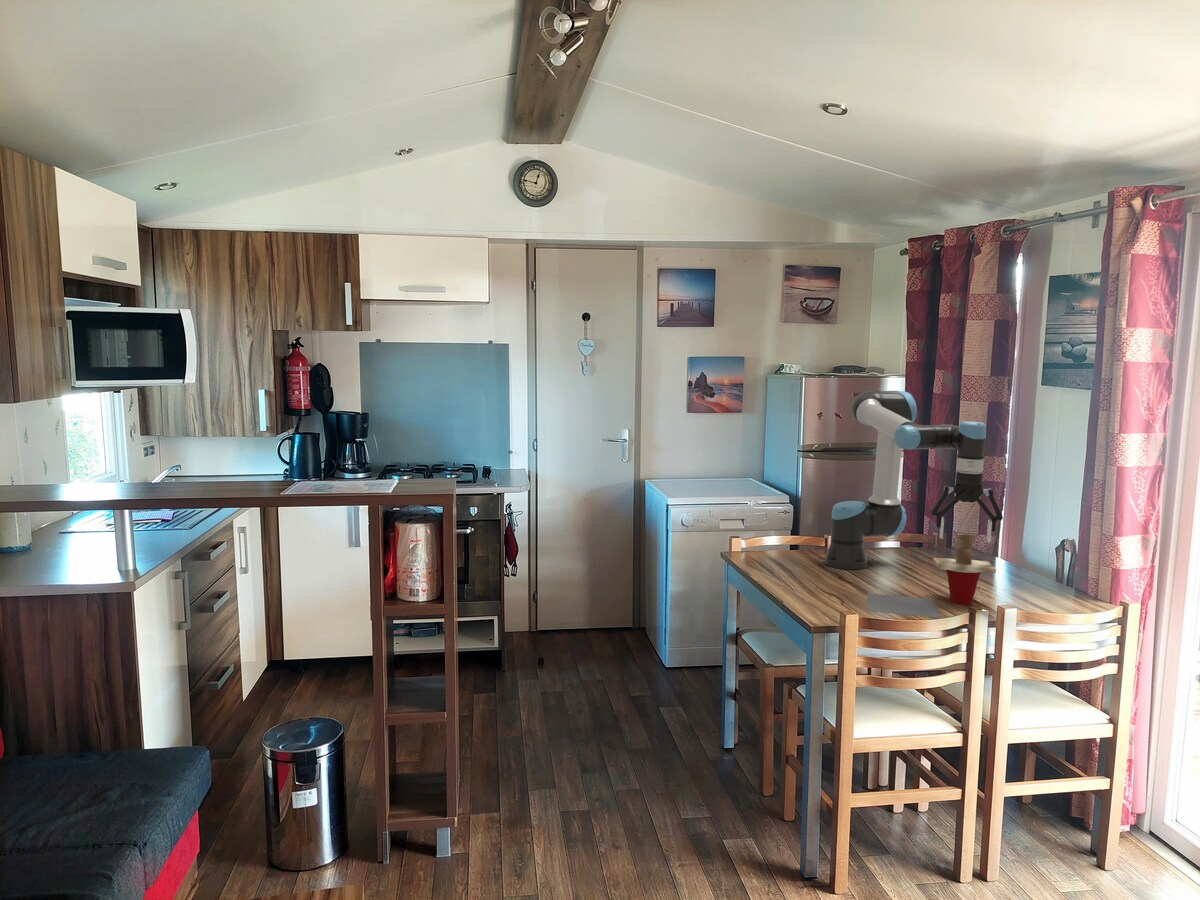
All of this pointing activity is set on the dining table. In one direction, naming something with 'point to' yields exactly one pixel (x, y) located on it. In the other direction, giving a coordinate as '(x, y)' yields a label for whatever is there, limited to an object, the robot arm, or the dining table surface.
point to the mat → (902, 605)
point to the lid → (964, 558)
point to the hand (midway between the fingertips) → (964, 539)
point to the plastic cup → (962, 586)
